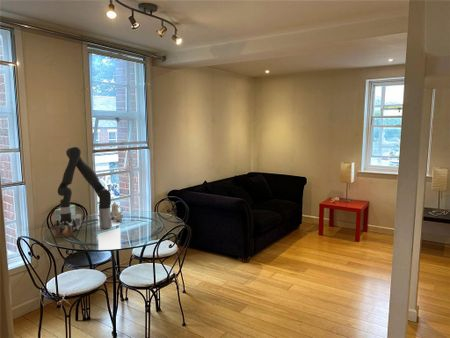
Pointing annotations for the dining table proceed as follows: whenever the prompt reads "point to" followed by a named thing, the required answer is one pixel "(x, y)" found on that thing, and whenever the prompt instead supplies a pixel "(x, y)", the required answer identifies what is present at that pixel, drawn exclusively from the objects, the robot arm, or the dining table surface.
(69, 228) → the deck
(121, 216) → the chinaware
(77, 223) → the slab
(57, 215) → the snack box
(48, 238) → the dining table surface
